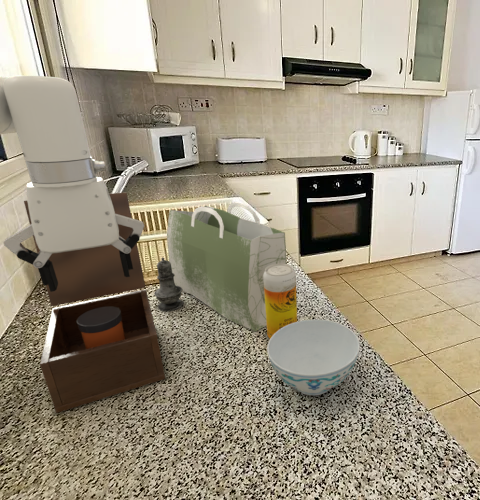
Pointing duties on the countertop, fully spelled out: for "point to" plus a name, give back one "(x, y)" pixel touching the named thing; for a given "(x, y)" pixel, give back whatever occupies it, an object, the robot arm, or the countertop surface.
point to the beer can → (280, 297)
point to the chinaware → (313, 354)
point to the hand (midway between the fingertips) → (92, 280)
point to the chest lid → (95, 266)
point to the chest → (100, 353)
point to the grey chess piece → (167, 288)
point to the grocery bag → (224, 260)
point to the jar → (101, 326)
